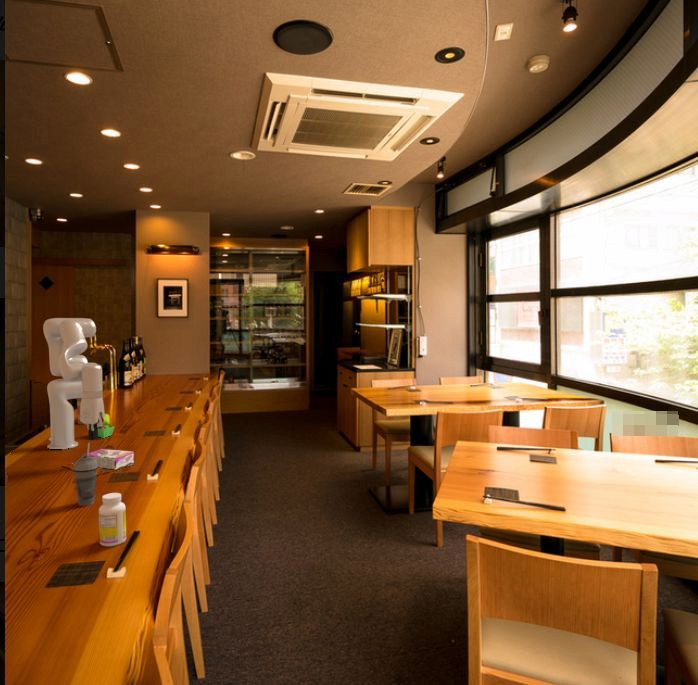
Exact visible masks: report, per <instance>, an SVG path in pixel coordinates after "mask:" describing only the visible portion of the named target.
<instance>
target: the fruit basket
mask: <svg viewBox="0 0 698 685" xmlns="http://www.w3.org/2000/svg"><path fill="white" fill-rule="evenodd" d="M104 414H105V418H104V422H102V424H103V426H100V427H99V430H98V437H101V438H100V439H102V438H104V439H106V438H105V437H108V436H111V435H113V432H114V429H115V425H114V426H113V425H110V423H111V421H110V420H111V419H110V417H111V416H110V415H109V414H108V413H104ZM88 431H89V430H88V429H87V432H88ZM111 437H112V436H111ZM108 438H109V437H108Z"/></svg>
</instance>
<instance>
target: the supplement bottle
mask: <svg viewBox="0 0 698 685" xmlns="http://www.w3.org/2000/svg"><path fill="white" fill-rule="evenodd" d="M101 499H102V503H103V504H101V506H100V507H99V509H98V530H99V534H98V535H99V544H100V545H101V546H103V547H115V546H119V545H121V544H123V543H124V542H125V541H126V540H127V519H126V518H127V516H126V515H127V514H126V511H127V510H126V509H127V508H126V507H127V506H126V505H125V503H124V502H122V494H121V493H119V492H111V493H107V494H104V495H102V498H101Z"/></svg>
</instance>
